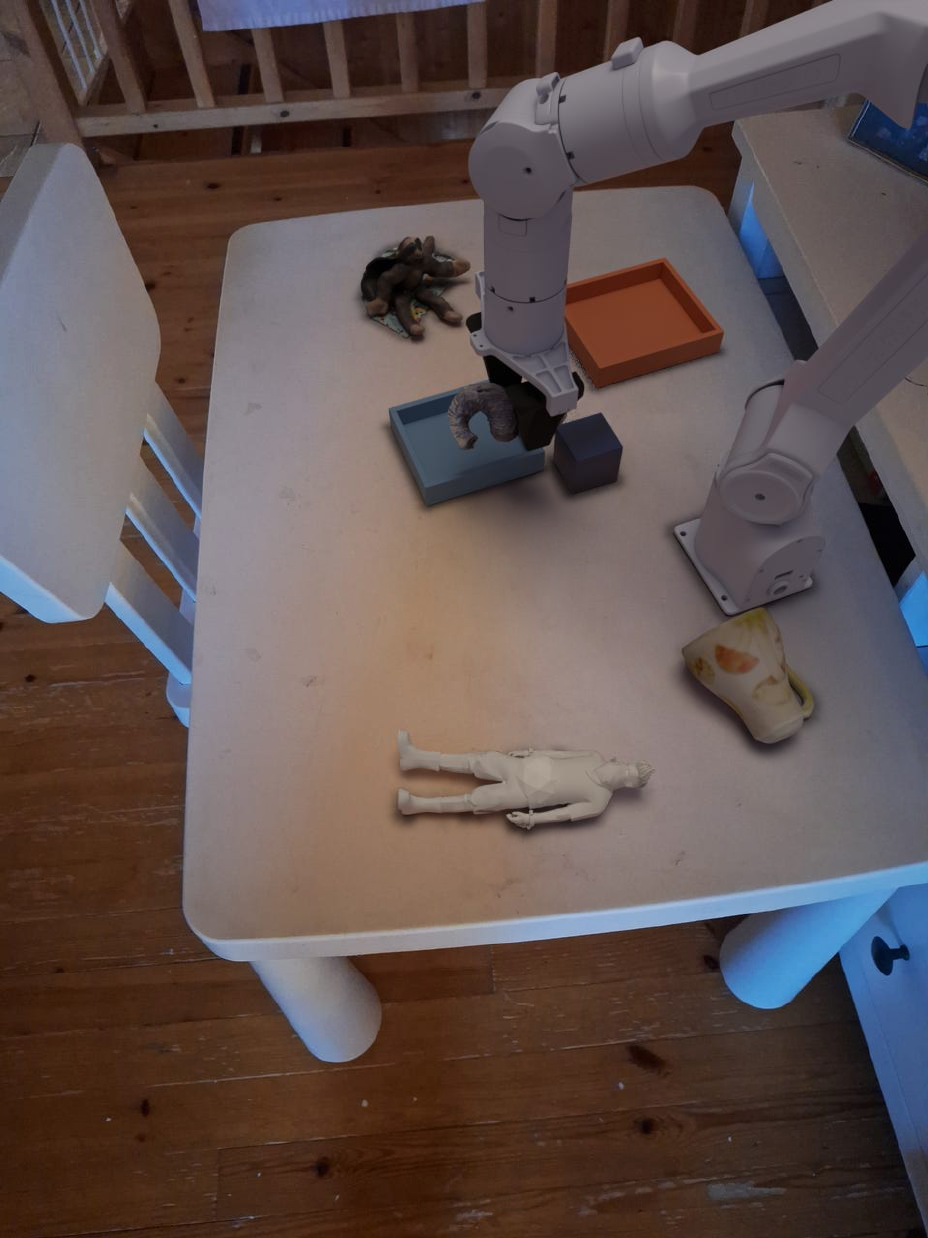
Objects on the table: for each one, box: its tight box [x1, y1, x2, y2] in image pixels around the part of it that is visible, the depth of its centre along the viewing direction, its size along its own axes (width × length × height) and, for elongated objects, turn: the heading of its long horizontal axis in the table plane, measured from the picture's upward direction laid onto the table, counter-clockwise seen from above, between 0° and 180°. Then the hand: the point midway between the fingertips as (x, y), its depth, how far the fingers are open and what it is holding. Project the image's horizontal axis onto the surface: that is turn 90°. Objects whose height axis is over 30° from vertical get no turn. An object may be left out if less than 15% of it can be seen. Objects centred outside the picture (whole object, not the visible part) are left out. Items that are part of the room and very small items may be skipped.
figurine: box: [396, 729, 656, 830], centre depth 64 cm, size 7×4×18 cm
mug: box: [680, 606, 815, 744], centre depth 67 cm, size 8×10×10 cm
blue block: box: [552, 411, 624, 495], centre depth 79 cm, size 4×4×4 cm
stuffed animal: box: [360, 235, 471, 338], centre depth 94 cm, size 12×10×12 cm
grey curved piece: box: [447, 383, 571, 450], centre depth 73 cm, size 5×5×10 cm
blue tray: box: [388, 379, 546, 507], centre depth 82 cm, size 10×11×2 cm
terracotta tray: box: [564, 256, 725, 389], centre depth 90 cm, size 12×13×2 cm
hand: (520, 417), depth 73 cm, fingers closed on grey curved piece, 6 cm apart
